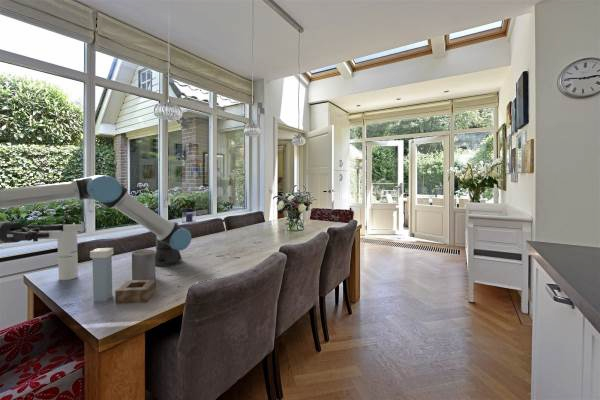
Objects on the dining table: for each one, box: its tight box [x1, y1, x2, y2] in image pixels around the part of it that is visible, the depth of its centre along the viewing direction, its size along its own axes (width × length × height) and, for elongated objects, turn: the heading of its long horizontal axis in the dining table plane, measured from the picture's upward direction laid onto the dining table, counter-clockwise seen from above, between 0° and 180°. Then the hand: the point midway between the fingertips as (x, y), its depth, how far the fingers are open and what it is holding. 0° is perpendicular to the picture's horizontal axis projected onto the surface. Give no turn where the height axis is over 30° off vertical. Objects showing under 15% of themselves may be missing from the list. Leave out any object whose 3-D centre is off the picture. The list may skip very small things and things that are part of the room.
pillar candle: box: [131, 249, 156, 280], centre depth 134 cm, size 10×10×15 cm
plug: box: [89, 247, 114, 303], centre depth 110 cm, size 6×6×20 cm
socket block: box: [114, 279, 157, 305], centre depth 113 cm, size 11×11×6 cm
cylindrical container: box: [57, 224, 79, 281], centre depth 135 cm, size 7×7×25 cm
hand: (72, 230), depth 107 cm, fingers open, 13 cm apart
